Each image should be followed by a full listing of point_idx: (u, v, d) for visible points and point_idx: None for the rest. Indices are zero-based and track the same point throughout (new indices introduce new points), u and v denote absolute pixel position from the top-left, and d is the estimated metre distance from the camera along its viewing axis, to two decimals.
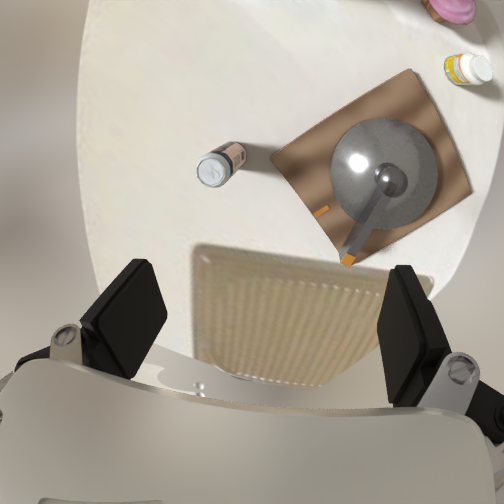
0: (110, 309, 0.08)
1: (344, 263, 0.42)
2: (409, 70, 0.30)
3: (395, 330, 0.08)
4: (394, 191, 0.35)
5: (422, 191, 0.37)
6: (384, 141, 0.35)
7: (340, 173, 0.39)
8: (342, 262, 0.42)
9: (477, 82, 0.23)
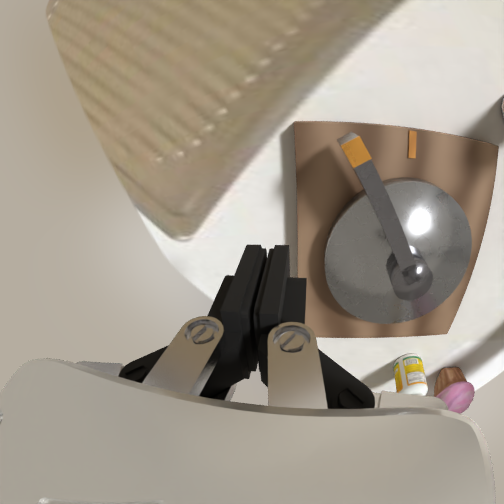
0: (251, 296, 0.08)
1: (354, 142, 0.19)
2: (446, 331, 0.33)
3: None
4: (405, 278, 0.24)
5: (354, 293, 0.30)
6: (436, 281, 0.27)
7: (449, 213, 0.23)
8: (358, 140, 0.18)
9: (405, 393, 0.34)
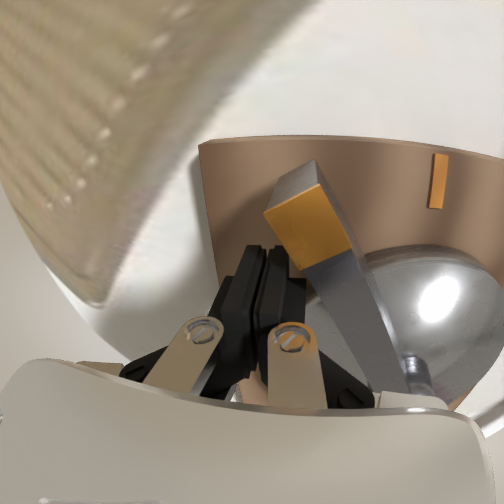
0: (252, 296, 0.08)
1: (302, 204, 0.07)
2: None
3: None
4: None
5: None
6: (441, 390, 0.16)
7: (486, 308, 0.11)
8: (315, 198, 0.07)
9: None
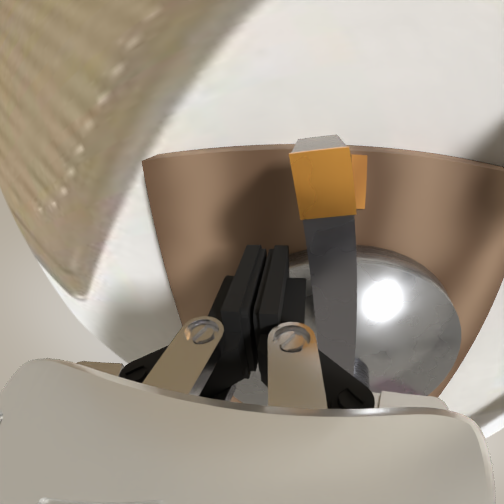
0: (252, 296, 0.08)
1: (328, 157, 0.07)
2: None
3: None
4: None
5: (247, 382, 0.19)
6: None
7: (440, 334, 0.14)
8: (341, 156, 0.07)
9: None
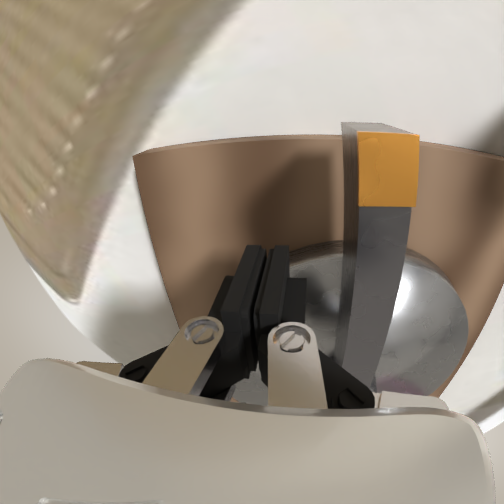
0: (251, 296, 0.08)
1: (397, 142, 0.06)
2: None
3: None
4: None
5: (245, 380, 0.18)
6: None
7: (448, 337, 0.13)
8: (411, 144, 0.06)
9: None
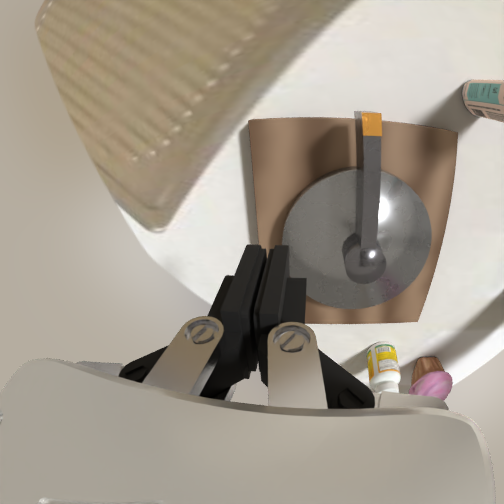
0: (251, 296, 0.08)
1: (374, 115, 0.19)
2: (417, 319, 0.36)
3: None
4: (361, 258, 0.26)
5: (302, 257, 0.31)
6: (380, 281, 0.31)
7: (418, 223, 0.27)
8: (378, 116, 0.19)
9: (376, 381, 0.37)
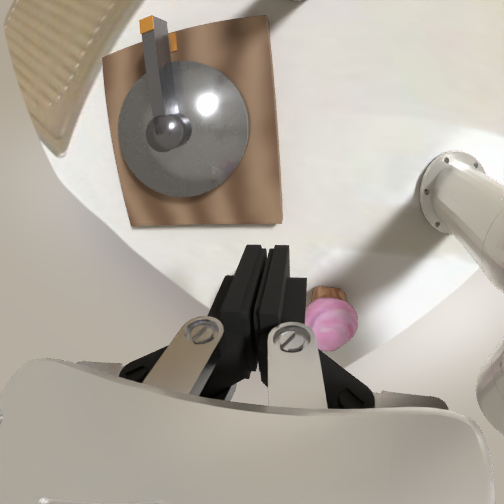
0: (251, 296, 0.08)
1: (147, 18, 0.20)
2: (279, 220, 0.37)
3: None
4: (155, 126, 0.28)
5: (133, 146, 0.33)
6: (203, 161, 0.32)
7: (224, 95, 0.28)
8: (150, 17, 0.20)
9: None
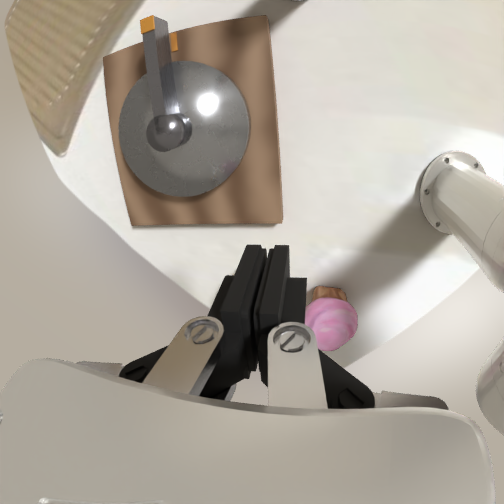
0: (251, 296, 0.08)
1: (148, 18, 0.20)
2: (280, 220, 0.37)
3: None
4: (156, 126, 0.28)
5: (134, 146, 0.33)
6: (204, 160, 0.33)
7: (225, 95, 0.28)
8: (151, 17, 0.20)
9: None
